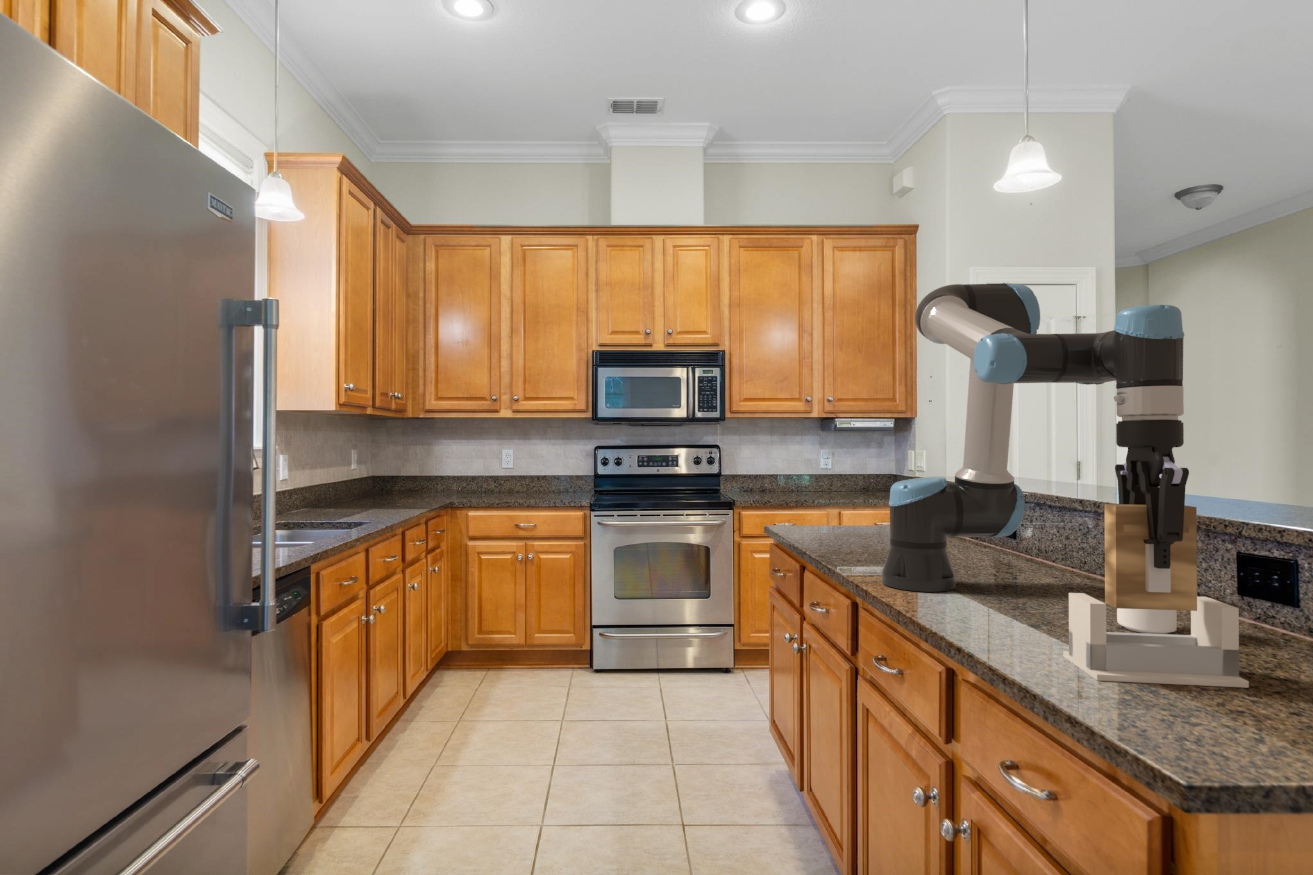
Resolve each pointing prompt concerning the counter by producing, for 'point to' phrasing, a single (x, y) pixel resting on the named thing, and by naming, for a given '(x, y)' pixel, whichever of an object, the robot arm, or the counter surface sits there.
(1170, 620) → the beverage can
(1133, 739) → the counter surface
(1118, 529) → the door panel
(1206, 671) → the door track
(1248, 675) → the counter surface
